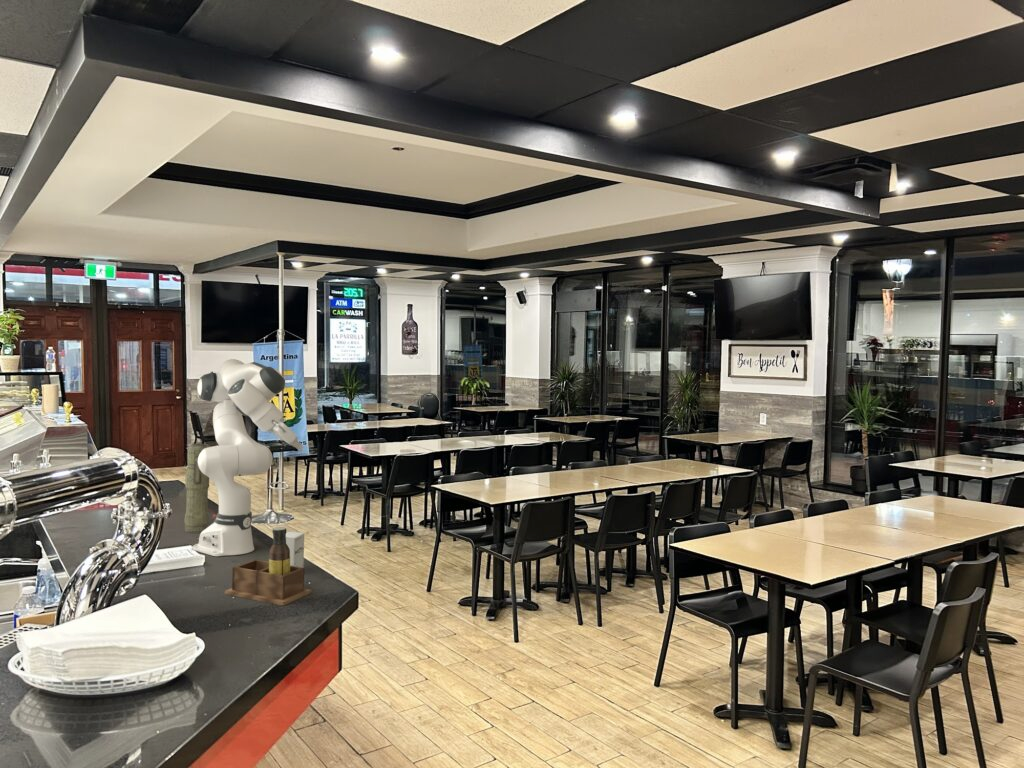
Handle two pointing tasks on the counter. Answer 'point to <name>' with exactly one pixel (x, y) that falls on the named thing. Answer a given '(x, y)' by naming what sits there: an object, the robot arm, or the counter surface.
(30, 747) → the counter surface
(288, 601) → the condiment caddy
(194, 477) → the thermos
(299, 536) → the supplement box
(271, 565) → the sauce bottle
